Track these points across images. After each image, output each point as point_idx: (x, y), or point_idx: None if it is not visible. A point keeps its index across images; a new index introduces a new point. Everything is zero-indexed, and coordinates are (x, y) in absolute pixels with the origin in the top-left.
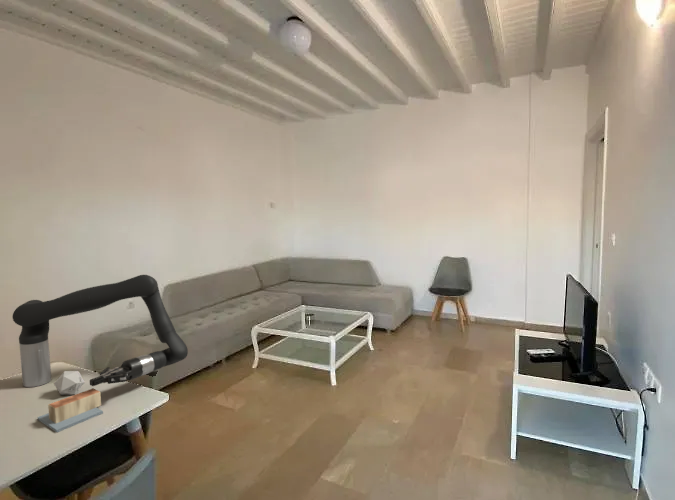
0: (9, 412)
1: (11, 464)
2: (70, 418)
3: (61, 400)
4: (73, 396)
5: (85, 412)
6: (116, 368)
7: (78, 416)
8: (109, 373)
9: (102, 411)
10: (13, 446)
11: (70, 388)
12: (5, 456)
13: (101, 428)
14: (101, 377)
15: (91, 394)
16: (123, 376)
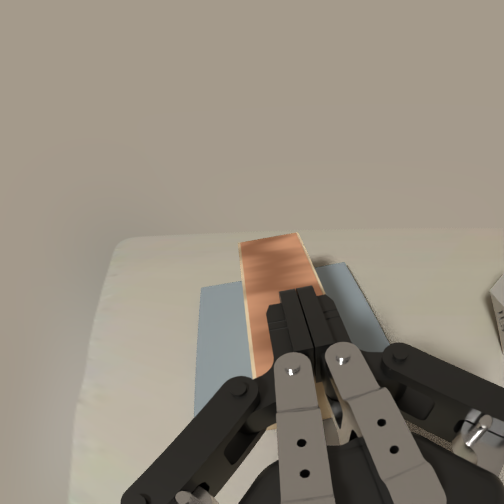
0: (437, 232)
1: (157, 240)
2: (245, 321)
3: (295, 255)
4: (304, 285)
5: (248, 364)
6: (386, 490)
7: (235, 340)
8: (311, 407)
9: (195, 415)
10: (226, 239)
11: (501, 313)
12: (197, 234)
13: (95, 372)
14: (292, 345)
15: (252, 341)
16: (132, 492)
